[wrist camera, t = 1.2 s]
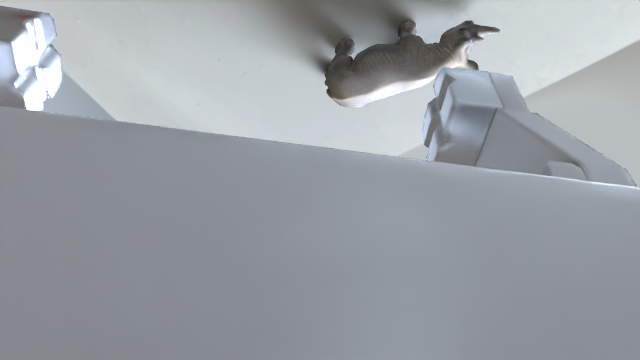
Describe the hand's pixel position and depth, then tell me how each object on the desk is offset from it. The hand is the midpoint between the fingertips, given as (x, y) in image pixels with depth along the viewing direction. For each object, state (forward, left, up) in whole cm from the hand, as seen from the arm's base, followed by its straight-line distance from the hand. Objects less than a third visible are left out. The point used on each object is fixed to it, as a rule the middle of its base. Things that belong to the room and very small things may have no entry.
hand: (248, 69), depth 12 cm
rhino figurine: (+13, +9, -31) cm, 35 cm away
